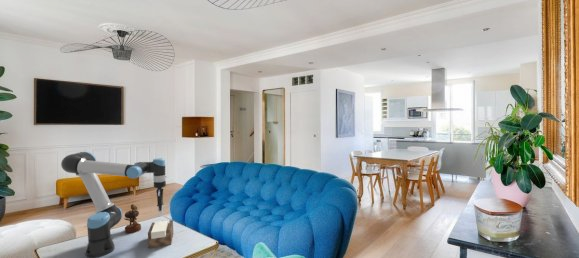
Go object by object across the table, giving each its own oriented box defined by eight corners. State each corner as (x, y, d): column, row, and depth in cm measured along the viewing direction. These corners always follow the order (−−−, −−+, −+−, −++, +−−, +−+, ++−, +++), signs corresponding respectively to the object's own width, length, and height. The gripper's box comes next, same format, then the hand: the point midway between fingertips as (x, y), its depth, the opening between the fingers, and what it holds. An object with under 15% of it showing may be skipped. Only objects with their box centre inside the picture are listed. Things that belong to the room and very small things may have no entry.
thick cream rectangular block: (151, 238, 172) (151, 232, 172) (155, 228, 189) (154, 222, 189) (165, 236, 175) (164, 230, 175) (167, 226, 192) (167, 220, 192)
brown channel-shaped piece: (148, 248, 177) (147, 232, 177) (152, 236, 194) (152, 222, 194) (171, 244, 182) (170, 229, 181) (173, 233, 199) (172, 219, 198)
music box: (146, 228, 209) (143, 203, 206) (133, 235, 199) (129, 209, 196) (132, 225, 215) (129, 201, 212) (118, 232, 205) (115, 206, 202)
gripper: (164, 182, 185) (165, 217, 186) (166, 178, 197) (167, 211, 198) (152, 183, 182) (153, 218, 184) (155, 179, 195) (155, 212, 196)
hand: (160, 214), depth 191 cm, fingers closed
